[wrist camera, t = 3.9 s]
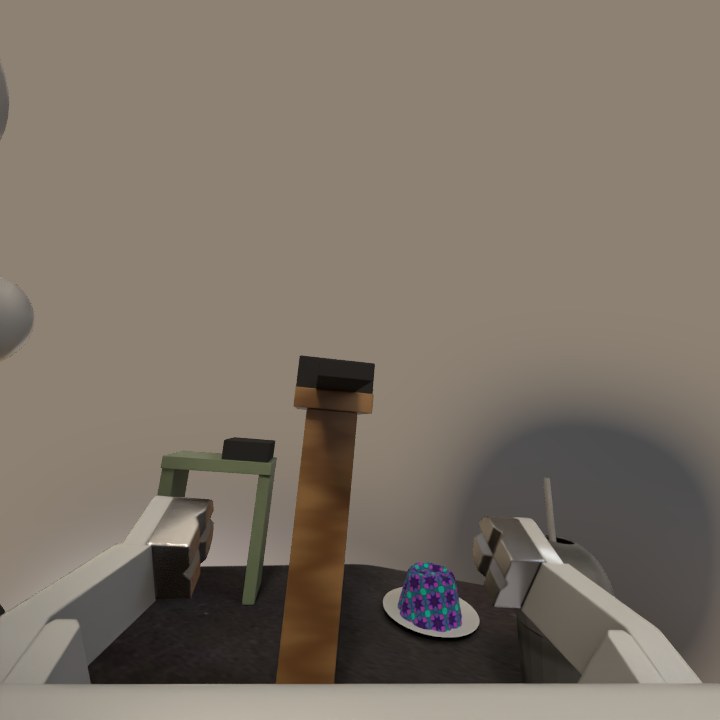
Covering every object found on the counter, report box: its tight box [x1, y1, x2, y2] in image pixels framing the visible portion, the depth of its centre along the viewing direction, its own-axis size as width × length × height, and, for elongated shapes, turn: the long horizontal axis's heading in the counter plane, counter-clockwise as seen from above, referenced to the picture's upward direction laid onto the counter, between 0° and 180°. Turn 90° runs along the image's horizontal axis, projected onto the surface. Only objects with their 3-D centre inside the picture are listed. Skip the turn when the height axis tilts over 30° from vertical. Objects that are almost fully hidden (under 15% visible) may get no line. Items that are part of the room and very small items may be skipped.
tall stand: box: [276, 387, 373, 684], centre depth 28 cm, size 6×7×26 cm
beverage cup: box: [514, 478, 614, 684], centre depth 27 cm, size 7×7×20 cm
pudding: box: [383, 563, 479, 637], centre depth 45 cm, size 12×12×5 cm
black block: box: [221, 437, 275, 463], centre depth 49 cm, size 6×6×2 cm
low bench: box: [157, 451, 277, 605], centre depth 46 cm, size 14×7×17 cm, turn 98°
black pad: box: [296, 356, 375, 394], centre depth 26 cm, size 6×14×2 cm, turn 8°
